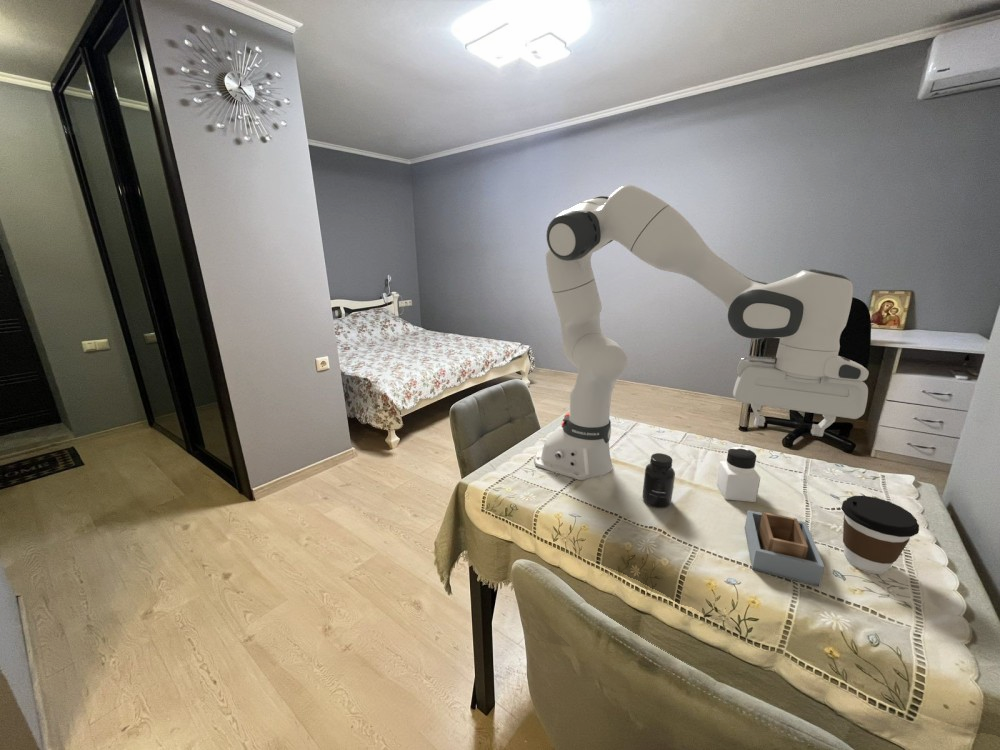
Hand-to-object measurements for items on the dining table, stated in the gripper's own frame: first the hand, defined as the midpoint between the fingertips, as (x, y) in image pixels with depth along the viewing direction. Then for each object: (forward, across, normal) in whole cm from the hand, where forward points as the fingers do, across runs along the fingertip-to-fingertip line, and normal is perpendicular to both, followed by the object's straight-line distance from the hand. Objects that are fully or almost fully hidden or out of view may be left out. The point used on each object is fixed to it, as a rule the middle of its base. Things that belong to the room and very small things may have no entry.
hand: (786, 430), depth 78 cm
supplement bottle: (+27, -21, +8) cm, 35 cm away
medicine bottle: (+26, -3, +18) cm, 32 cm away
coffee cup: (+25, +18, +1) cm, 31 cm away
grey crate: (+26, +3, -3) cm, 26 cm away
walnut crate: (+25, +3, -3) cm, 26 cm away
